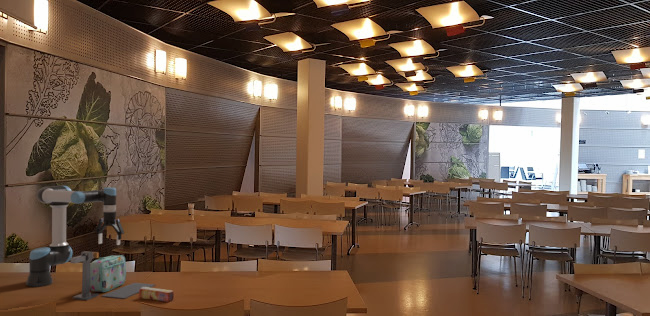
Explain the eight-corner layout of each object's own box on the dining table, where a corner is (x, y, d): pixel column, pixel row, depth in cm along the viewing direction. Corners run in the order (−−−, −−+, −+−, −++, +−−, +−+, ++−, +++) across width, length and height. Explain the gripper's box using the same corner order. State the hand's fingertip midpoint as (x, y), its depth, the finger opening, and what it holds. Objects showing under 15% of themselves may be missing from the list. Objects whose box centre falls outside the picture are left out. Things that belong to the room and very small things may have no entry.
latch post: (72, 298, 287) (73, 252, 287) (84, 294, 296) (85, 249, 296) (86, 300, 284) (87, 254, 284) (98, 295, 294) (99, 250, 294)
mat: (101, 296, 292) (101, 295, 292) (134, 283, 323) (134, 282, 323) (124, 298, 289) (124, 297, 289) (155, 285, 320) (155, 284, 320)
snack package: (174, 300, 289) (174, 288, 289) (167, 303, 283) (168, 291, 283) (144, 296, 295) (145, 285, 295) (137, 299, 289) (138, 288, 289)
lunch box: (101, 295, 296) (102, 260, 296) (87, 293, 298) (87, 259, 298) (127, 284, 322) (128, 252, 322) (114, 283, 324) (114, 251, 324)
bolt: (68, 263, 280) (68, 257, 280) (90, 256, 298) (90, 251, 298) (77, 263, 279) (77, 258, 279) (98, 257, 296) (98, 252, 296)
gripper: (89, 211, 309) (88, 244, 309) (122, 212, 303) (122, 246, 303) (97, 210, 316) (96, 242, 316) (130, 211, 310) (129, 244, 310)
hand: (109, 244), depth 310 cm, fingers open, 13 cm apart
